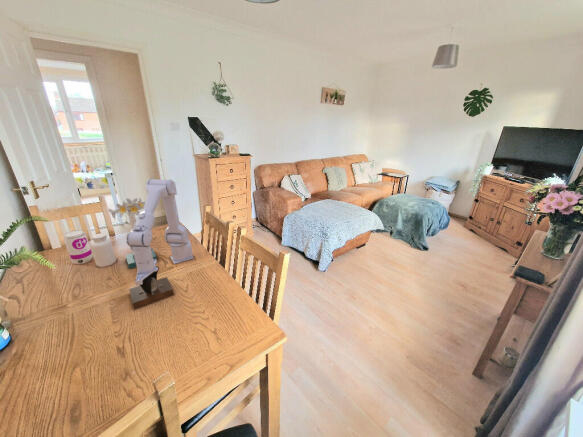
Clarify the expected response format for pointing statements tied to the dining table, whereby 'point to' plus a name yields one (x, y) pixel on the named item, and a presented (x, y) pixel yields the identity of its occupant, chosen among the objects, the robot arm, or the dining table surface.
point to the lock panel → (144, 298)
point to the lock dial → (153, 285)
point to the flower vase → (129, 210)
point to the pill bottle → (102, 250)
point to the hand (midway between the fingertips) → (150, 288)
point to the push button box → (132, 261)
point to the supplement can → (78, 246)
